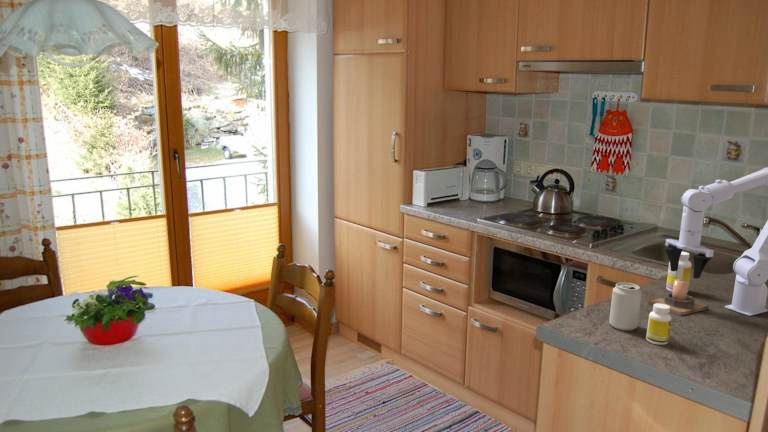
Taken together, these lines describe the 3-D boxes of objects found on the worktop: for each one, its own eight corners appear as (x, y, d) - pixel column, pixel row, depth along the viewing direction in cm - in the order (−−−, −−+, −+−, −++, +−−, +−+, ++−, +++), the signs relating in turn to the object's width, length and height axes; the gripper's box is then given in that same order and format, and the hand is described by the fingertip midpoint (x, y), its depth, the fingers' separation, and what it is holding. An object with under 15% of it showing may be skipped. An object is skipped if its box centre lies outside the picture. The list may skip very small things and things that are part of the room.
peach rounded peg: (676, 300, 197) (679, 278, 196) (688, 304, 194) (691, 282, 192) (668, 302, 195) (671, 280, 194) (679, 306, 192) (682, 283, 190)
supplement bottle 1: (670, 346, 165) (675, 310, 163) (648, 344, 166) (652, 308, 164) (665, 338, 170) (670, 303, 168) (644, 336, 171) (648, 301, 169)
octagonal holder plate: (676, 297, 203) (677, 288, 202) (708, 309, 193) (709, 299, 193) (648, 303, 196) (649, 294, 196) (680, 315, 187) (681, 305, 186)
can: (634, 334, 172) (639, 291, 170) (605, 327, 176) (610, 286, 173) (639, 325, 178) (645, 284, 176) (612, 319, 182) (616, 279, 180)
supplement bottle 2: (688, 289, 211) (693, 251, 208) (688, 295, 205) (693, 256, 202) (665, 286, 214) (670, 249, 211) (665, 292, 208) (670, 253, 205)
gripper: (661, 226, 193) (655, 269, 196) (705, 237, 181) (698, 283, 184) (676, 224, 197) (670, 266, 200) (720, 234, 184) (713, 279, 187)
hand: (685, 274), depth 192 cm, fingers open, 7 cm apart
